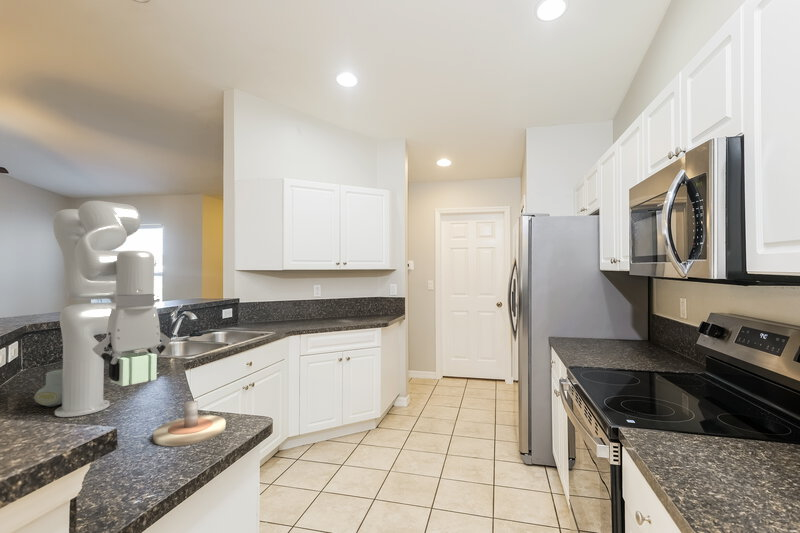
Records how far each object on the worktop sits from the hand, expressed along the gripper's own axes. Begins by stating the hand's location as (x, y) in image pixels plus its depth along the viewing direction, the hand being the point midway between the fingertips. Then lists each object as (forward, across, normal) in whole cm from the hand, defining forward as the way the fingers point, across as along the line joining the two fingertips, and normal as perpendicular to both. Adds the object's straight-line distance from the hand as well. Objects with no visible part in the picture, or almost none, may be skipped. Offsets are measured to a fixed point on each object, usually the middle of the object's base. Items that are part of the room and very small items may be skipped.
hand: (133, 376), depth 92 cm
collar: (+1, 0, 0) cm, 1 cm away
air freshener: (+16, +1, -53) cm, 55 cm away
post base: (+16, -11, +5) cm, 20 cm away
